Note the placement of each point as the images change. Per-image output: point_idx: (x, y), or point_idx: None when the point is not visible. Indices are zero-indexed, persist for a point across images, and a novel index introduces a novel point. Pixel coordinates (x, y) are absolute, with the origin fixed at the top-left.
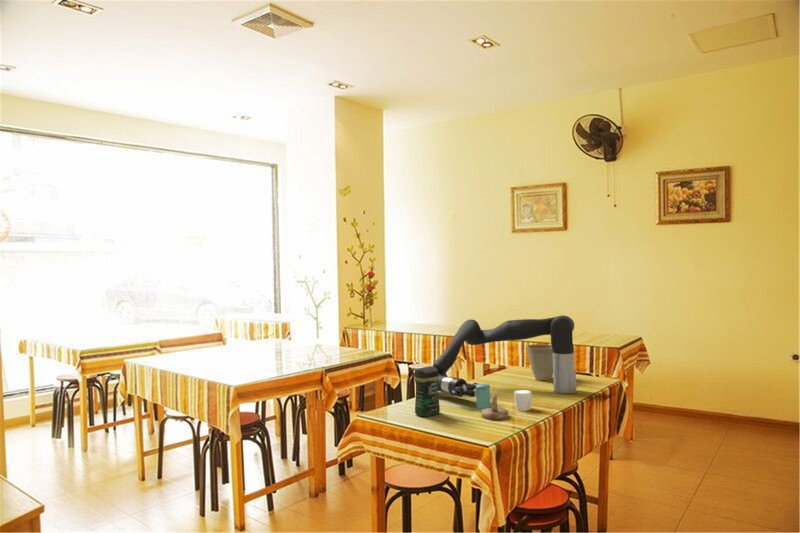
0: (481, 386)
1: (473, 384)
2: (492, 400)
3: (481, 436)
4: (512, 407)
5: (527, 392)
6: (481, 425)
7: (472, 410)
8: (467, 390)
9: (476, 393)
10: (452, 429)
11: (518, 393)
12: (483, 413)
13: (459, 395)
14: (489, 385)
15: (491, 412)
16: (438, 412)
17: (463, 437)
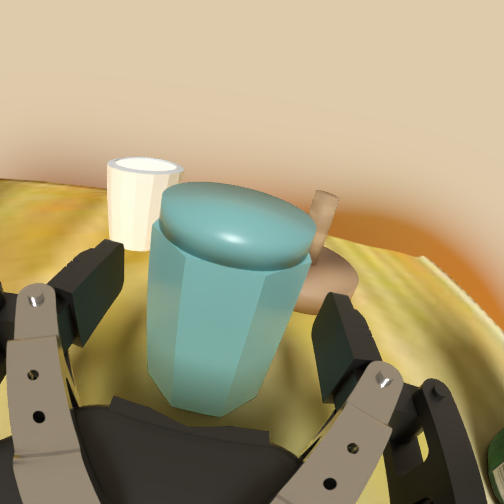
0: (288, 208)
1: (44, 388)
2: (332, 217)
3: (414, 262)
4: (128, 262)
5: (148, 160)
6: (388, 280)
7: (316, 389)
8: (369, 351)
9: (293, 304)
10: (462, 312)
11: (181, 169)
12: (357, 280)
13: (414, 440)
14: (210, 182)
15: (326, 263)
16: (495, 436)
17: (446, 280)
